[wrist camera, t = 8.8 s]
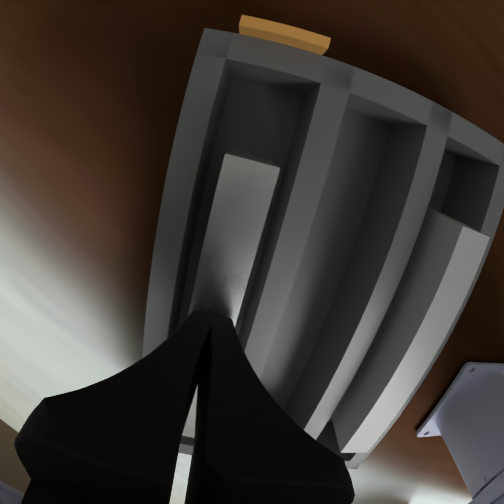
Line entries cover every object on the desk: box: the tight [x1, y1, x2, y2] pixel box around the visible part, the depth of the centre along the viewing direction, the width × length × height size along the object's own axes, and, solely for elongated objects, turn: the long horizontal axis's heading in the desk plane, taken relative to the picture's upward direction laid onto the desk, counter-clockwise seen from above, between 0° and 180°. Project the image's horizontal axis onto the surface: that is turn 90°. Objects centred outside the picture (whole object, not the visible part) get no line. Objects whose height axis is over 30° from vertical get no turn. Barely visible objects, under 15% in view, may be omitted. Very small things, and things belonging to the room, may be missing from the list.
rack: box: [142, 15, 504, 469], centre depth 14 cm, size 14×20×6 cm, turn 166°
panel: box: [182, 149, 280, 438], centre depth 13 cm, size 12×2×5 cm, turn 165°
